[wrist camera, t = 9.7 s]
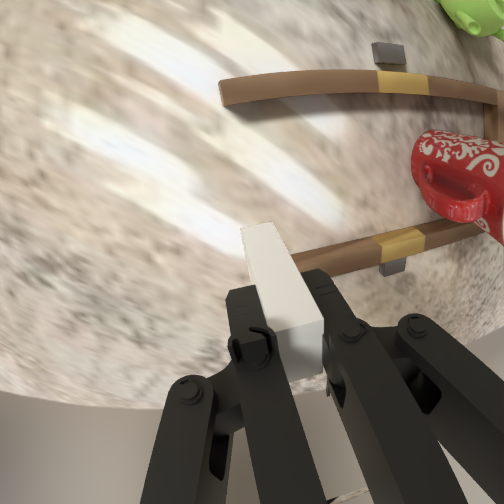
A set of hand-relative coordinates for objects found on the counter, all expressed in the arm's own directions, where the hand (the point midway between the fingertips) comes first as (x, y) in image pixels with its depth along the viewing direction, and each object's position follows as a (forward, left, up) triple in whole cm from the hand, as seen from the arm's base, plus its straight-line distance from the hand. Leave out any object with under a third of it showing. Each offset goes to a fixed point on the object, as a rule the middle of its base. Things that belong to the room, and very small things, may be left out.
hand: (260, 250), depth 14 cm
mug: (+1, +20, -13) cm, 24 cm away
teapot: (-19, +28, -13) cm, 36 cm away
